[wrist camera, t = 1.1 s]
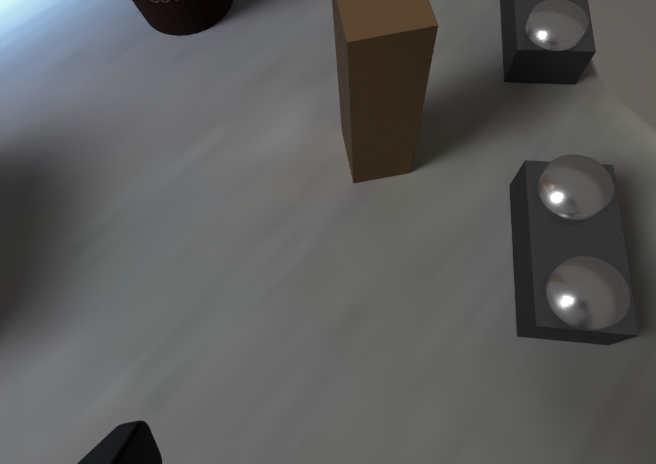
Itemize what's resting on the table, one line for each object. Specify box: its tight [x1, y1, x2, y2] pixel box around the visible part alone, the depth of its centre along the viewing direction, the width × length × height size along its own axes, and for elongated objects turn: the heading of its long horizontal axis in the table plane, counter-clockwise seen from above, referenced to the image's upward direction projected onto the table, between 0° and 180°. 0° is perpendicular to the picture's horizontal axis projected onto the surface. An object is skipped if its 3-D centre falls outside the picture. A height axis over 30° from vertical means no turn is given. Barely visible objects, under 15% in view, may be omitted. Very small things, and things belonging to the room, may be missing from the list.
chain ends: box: [500, 0, 639, 345], centre depth 23 cm, size 23×4×3 cm, turn 174°
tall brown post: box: [332, 0, 438, 183], centre depth 21 cm, size 4×3×10 cm
